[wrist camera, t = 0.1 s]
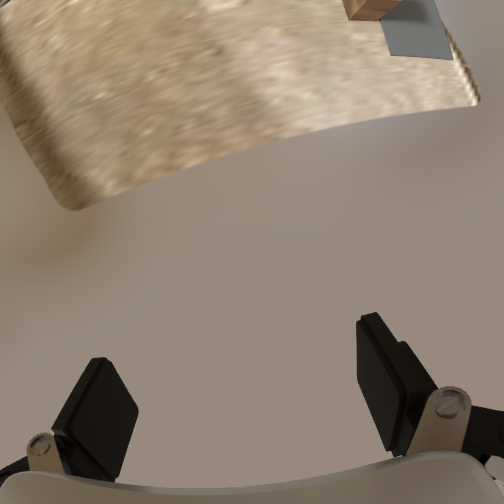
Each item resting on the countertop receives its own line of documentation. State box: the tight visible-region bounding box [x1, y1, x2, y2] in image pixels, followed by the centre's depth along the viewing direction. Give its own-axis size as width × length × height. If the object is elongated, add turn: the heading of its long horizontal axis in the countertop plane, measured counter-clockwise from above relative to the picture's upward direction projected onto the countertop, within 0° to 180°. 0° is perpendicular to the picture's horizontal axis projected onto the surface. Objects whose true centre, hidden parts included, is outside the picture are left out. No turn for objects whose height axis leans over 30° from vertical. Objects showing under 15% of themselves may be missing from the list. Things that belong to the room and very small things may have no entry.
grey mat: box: [380, 0, 453, 60], centre depth 30 cm, size 16×12×1 cm
